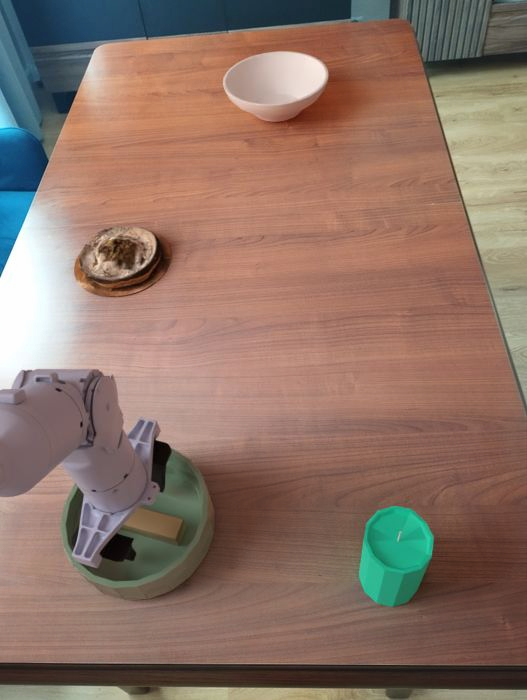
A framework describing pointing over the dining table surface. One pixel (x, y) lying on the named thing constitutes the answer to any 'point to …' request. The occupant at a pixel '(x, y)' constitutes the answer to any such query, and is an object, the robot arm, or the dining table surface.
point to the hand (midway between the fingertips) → (141, 520)
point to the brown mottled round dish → (122, 261)
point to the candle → (394, 555)
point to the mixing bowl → (151, 555)
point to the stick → (156, 526)
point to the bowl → (276, 84)
